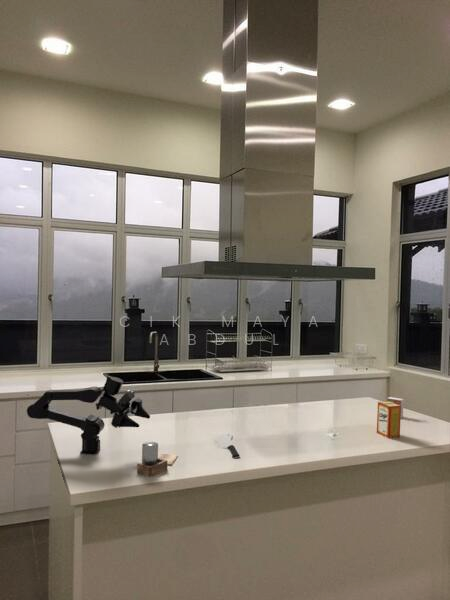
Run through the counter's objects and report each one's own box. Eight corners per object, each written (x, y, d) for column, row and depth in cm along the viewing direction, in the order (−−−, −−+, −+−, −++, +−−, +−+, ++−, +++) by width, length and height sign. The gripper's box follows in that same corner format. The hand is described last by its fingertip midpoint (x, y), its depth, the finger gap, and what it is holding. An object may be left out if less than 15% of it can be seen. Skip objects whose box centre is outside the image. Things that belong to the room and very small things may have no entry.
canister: (139, 472, 186) (140, 446, 185) (144, 466, 192) (145, 441, 191) (155, 473, 185) (155, 447, 185) (159, 468, 191) (160, 442, 190)
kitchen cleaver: (210, 434, 234) (231, 431, 236) (211, 437, 234) (231, 435, 236) (219, 457, 203) (242, 454, 205) (219, 461, 204) (243, 458, 205)
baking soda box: (399, 437, 241) (401, 405, 241) (388, 438, 239) (389, 405, 239) (387, 431, 250) (389, 400, 250) (376, 432, 248) (378, 401, 248)
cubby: (137, 472, 185) (137, 463, 185) (154, 465, 193) (154, 456, 193) (150, 477, 182) (150, 467, 181) (167, 469, 189) (167, 460, 189)
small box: (386, 416, 281) (386, 398, 280) (388, 414, 285) (389, 396, 285) (400, 418, 276) (401, 400, 276) (403, 416, 281) (403, 398, 280)
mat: (142, 463, 195) (142, 461, 195) (149, 453, 206) (149, 452, 206) (171, 465, 194) (171, 464, 194) (177, 456, 205) (177, 454, 205)
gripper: (106, 395, 194) (139, 413, 190) (130, 381, 212) (160, 397, 208) (98, 419, 197) (130, 437, 193) (122, 402, 215) (152, 419, 211)
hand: (144, 421), depth 201 cm, fingers open, 9 cm apart
